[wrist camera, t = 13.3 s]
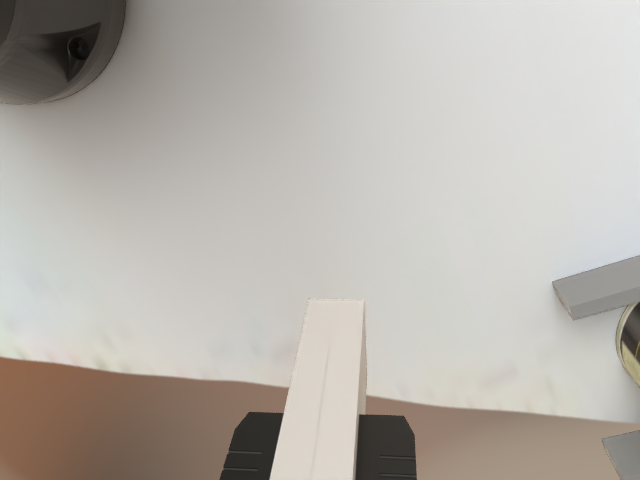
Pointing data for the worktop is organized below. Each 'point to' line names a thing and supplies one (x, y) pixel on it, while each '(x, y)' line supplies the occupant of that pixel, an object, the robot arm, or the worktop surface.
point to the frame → (595, 297)
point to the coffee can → (630, 341)
